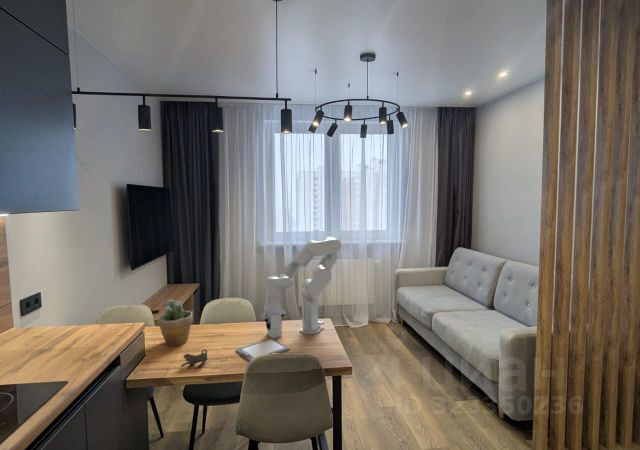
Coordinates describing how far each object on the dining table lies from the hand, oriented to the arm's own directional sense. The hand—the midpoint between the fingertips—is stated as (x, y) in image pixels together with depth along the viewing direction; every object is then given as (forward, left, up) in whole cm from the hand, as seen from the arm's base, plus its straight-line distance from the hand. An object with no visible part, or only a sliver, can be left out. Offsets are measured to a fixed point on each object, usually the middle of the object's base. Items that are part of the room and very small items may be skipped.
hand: (274, 327), depth 200 cm
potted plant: (+47, -29, -5) cm, 55 cm away
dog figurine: (+49, +6, -5) cm, 49 cm away
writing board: (+16, +14, -5) cm, 22 cm away
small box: (0, 0, -5) cm, 5 cm away
